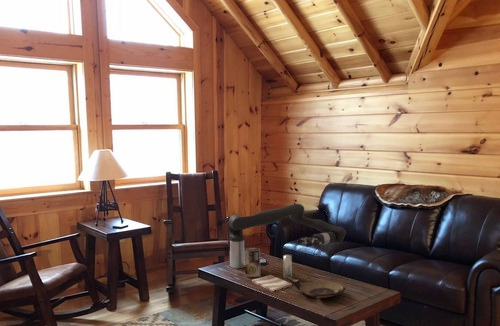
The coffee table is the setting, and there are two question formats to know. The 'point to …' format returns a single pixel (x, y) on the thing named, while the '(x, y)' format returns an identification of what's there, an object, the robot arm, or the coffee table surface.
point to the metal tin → (287, 266)
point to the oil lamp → (319, 288)
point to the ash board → (271, 283)
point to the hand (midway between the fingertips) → (301, 243)
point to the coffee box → (252, 262)
